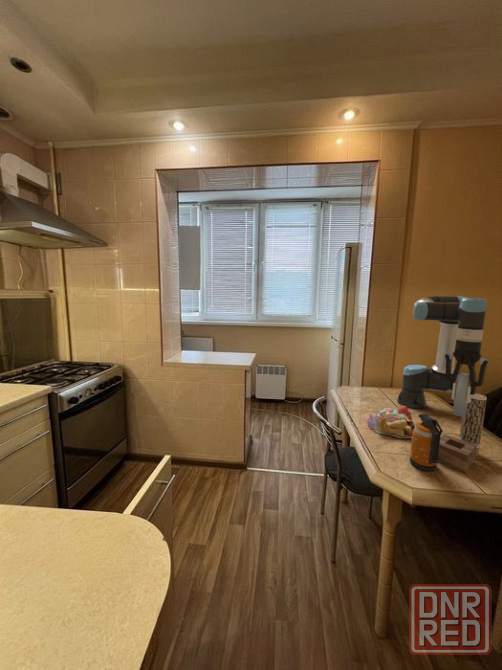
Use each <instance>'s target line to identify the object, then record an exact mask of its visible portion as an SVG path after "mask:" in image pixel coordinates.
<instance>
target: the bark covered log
mask: <svg viewBox="0 0 502 670" xmlns="http://www.w3.org/2000/svg"><path fill="white" fill-rule="evenodd" d="M486 404H487V396H486V395H485V394H480V393H478V392H477V393H476V392H475V394H474V395H472V396H471V402H470V403H467V409H466V416H465V417H461V423H460V431H459V436H458V437H459V438H458V439H460V440H463V441H466V442H469V443H472V444H474V445H477V446H476V453H475V458H476V457H478V456H479V453H480V447H481V440H482V432H483V428H484V427H483V426H484V420H485V412H486Z"/></svg>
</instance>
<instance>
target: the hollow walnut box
mask: <svg viewBox="0 0 502 670" xmlns="http://www.w3.org/2000/svg"><path fill="white" fill-rule="evenodd" d="M476 446H477V445H474V444H472V443H469V442H466V441H463V440H460V439H459V438H457V437H454V436H451V435H449V434H445V433H444V434H441V436H440V445H439V453H438V463H442V464H444V465H446V466H448V467H451V468H453V469H456V470H458V471H460V472H463V473H467V471H468V470H469V469H470V468H471V466H472V465H473V464H474V463H475V460H476V459H475V458H476V457H475V453H476Z"/></svg>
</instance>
